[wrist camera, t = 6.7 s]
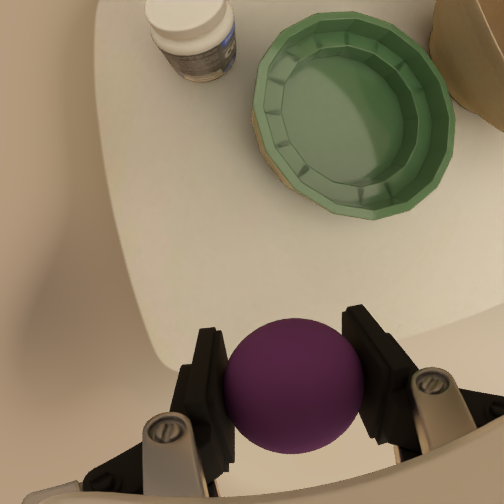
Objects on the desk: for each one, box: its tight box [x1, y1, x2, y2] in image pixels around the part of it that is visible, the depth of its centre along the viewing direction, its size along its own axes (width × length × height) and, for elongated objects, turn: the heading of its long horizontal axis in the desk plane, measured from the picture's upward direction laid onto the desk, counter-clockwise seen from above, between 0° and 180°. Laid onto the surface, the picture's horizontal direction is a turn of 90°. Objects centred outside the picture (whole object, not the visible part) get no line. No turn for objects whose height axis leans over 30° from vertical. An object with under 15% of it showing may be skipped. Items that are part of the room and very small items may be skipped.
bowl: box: [251, 11, 455, 220], centre depth 17 cm, size 13×13×5 cm
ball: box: [223, 318, 364, 454], centre depth 9 cm, size 4×4×4 cm
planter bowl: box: [429, 0, 504, 132], centre depth 13 cm, size 16×16×11 cm
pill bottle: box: [145, 0, 236, 82], centre depth 14 cm, size 5×5×8 cm
